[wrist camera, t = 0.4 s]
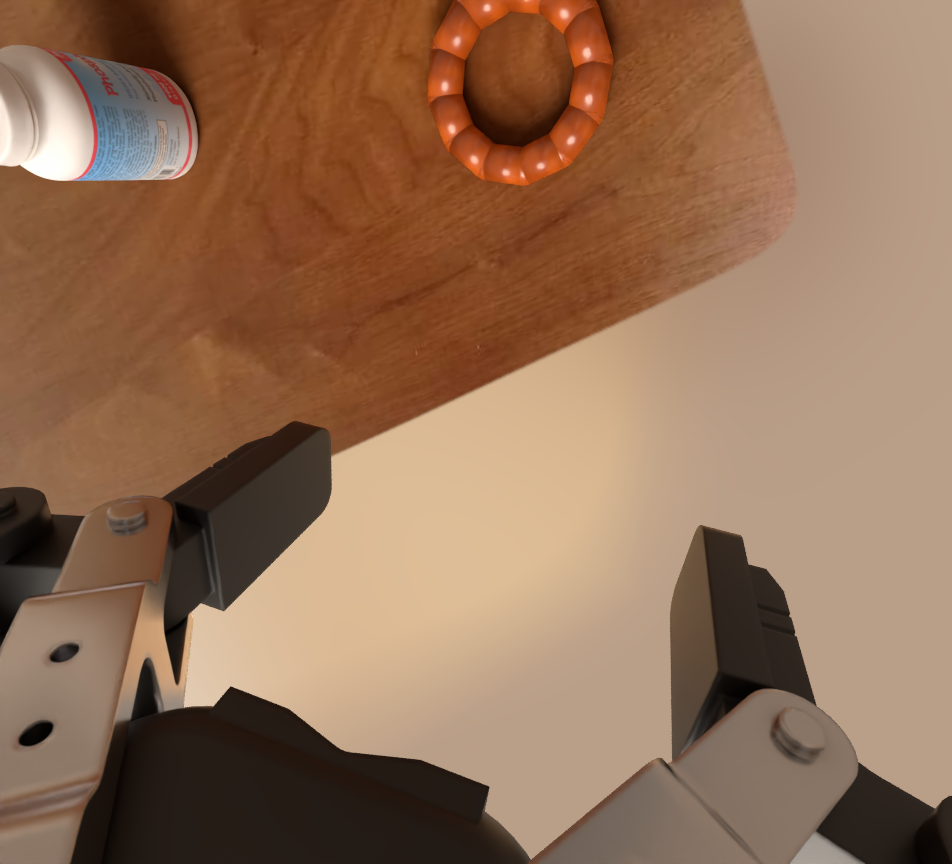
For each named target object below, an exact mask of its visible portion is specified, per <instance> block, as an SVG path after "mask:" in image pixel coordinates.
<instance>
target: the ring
mask: <svg viewBox="0 0 952 864" xmlns="http://www.w3.org/2000/svg"><path fill="white" fill-rule="evenodd" d="M510 12H515V13H532V14H541V15H542V16H543V17H544V18H545V19H547V20H548V21H549V22H550V23H551V24H552V25H553V26H555V27H556V28H557V29H558V30H559V31H560V32H561V33H563V34H564V36H565V40H566V43H567V46H568V49H569V53H570V56H571V59H572V62H573V65H574V74H573V80H572V87H571V93H570V99H569V105H568V106H567V108H566V109H565V111H564V112H563V114H562V115H561V117H560V118H559V120H558V121H557V123H556V124H555V126H554V127H553V128H552V130H551V131H550V133H549V134H547V135H545V136H543V137H541V138H539V139H537V140H535V141H533V142H531V143H529V144H527V145H525V146H523V147H518V146H510V145H501V144H495V143H494V142H493V141H491V140H490V139H489V138H488V137H487V136H486V135H484V134H483V133H482V132H481V131H480V130H479V129H477V128H476V127H475V126H474V125H473V122H472V119H471V117H470V114H469V111H468V109H467V106H466V103H465V100H464V98H463V84H464V72H465V60H466V58H467V57H468V55H469V53H470V51H471V50H472V48H473V46H474V44H475V42H476V41H477V39H478V37H479V35H480V33H481V32H482V30H483V29H484V28H486V27H488V26H489V25H491V24H492V23H494V22H495V21H497V20H499V19H500V18H502V17H503V16H505V15H507V14H508V13H510ZM613 65H614V57H613V53H612V49H611V46H610V42H609V39H608V36H607V32H606V29H605V25H604V22H603V18H602V15H601V11H600V8H599V5H598V3H597V1H596V0H453V2H452V4H451V6H450V8H449V10H448V12H447V14H446V16H445V18H444V20H443V22H442V24H441V26H440V28H439V29H438V31H437V33H436V35H435V37H434V39H433V41H432V44H431V48H430V64H429V82H428V104H429V107H430V109H431V112H432V114H433V117H434V119H435V122H436V125H437V127H438V130H439V132H440V135H441V138H442V140H443V143H444V145H445V147H446V149H447V150H448V151H449V152H450V153H451V154H452V155H453V156H454V157H455V158H457V159H458V160H459V161H460V162H461V163H462V164H464V165H465V166H466V167H467V168H468V169H469V170H471V171H472V172H473V173H474V174H475V175H476V176H478V177H479V178H480V179H482V180H486V181H492V182H500V183H507V184H515V185H524V186H525V185H529V184H532V183H534V182H536V181H538V180H540V179H542V178H544V177H547V176H549V175H551V174H553V173H555V172H557V171H559V170H561V169H563V168H565V167H567V166H569V165H570V164H571V163H572V162H573V161H574V160H575V158H576V157H577V156H578V154H579V153H580V151H581V150H582V149H583V147H584V146H585V145H586V143H587V142H588V140H589V139H590V138H591V136H592V135H593V134H594V132H595V131H596V129H597V128H598V127H599V125H600V124H601V122H602V120H603V118H604V114H605V109H606V103H607V98H608V92H609V87H610V82H611V76H612V71H613Z"/></svg>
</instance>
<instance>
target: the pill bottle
mask: <svg viewBox="0 0 952 864" xmlns="http://www.w3.org/2000/svg"><path fill="white" fill-rule="evenodd" d="M197 150H198V132H197V124H196V120H195V116H194V113H193V110H192V107H191V105H190V103H189V101H188V99H187V97H186V96H185V94H184V93H183V91H182V90H181V89H180V88H179V87H178V85H177V84H176V83H175V82H173V81H172V80H171V79H170V78H169V77H167V76H166V75H164V74H162V73H160V72H158V71H155V70H151V69H147V68H142V67H137V66H132V65H127V64H122V63H117V62H113V61H107V60H102V59H96V58H92V57H86V56H81V55H76V54H71V53H66V52H60V51H55V50H50V49H45V48H39V47H34V46H27V45H11V46H7V47H4V48H2V49H0V165H5V166H17V165H21V166H22V167H24V168H25V169H27V170H28V171H30V172H32V173H34V174H36V175H38V176H40V177H43V178H46V179H51V180H61V181H81V180H165V179H175V178H178V177H180V176H182V175H184V174H185V173H186V172H187V171H188V170H189V169H190V168H191V167H192V165H193V163H194V161H195V159H196V155H197Z"/></svg>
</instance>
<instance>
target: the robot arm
mask: <svg viewBox="0 0 952 864" xmlns="http://www.w3.org/2000/svg"><path fill="white" fill-rule="evenodd" d="M331 481H332V480H331V438H330V434H329V432H328V430H327V429H325V428H321V427H317V426H313V425H309V424H305V423H301V422H297V421H294V422H291V423H289V424H288V425H286V426H285V427H283V428H282V429H280V430H279V431H278V432H276V433H275V434H273V435H272V436H270V437H269V436H267V437H264V438H261V439H258V440H255V441H252V442H249V443H246V444H244V445H243V446H241V447H240V448H238V449H237V450H235V451H233V452H232V453H230V454H229V455H228V457H227V458H225V457H224V458H223V459H221V460H220V461H218V462H217V463H215V464H213V467H209V468H207V469H206V470H204V471H203V472H201V473H200V474H198V475H197V476H195V477H193V478H192V479H190V480H189V481H187V482H186V483H184V484H183V485H181V486H180V487H178V488H177V489H175V490H173V491H172V492H170V493H169V494H167V495H166V496H164V497H163V498H158V497H154V496H131V497H125V498H120V499H117V500H113V501H111V502H108V503H105V504H103V505H101V506H99V507H97V508H96V509H94V510H93V511H91V512H90V513H89V514H88V515H87V516H72V515H54V514H51V513H50V510H49V507H48V504H47V500H46V497H45V495H44V494H43V493H42V492H41V491H39V490H36V489H33V488H27V487H10V488H2V489H0V864H952V796H949V797H947V798H945V799H944V800H942V802H941V803H940V804H939V805H938V806H937V807H936V808H935V809H934V808H933V807H931V806H929V805H927V804H925V803H924V802H922V801H920V800H919V799H917V798H915V797H913V796H912V795H910V794H908V793H906V792H905V791H903V790H901V789H900V788H898V787H896V786H894V785H892V784H891V783H889V782H888V781H886V780H884V779H882V778H881V777H879V776H877V775H876V774H874V773H873V772H871V771H870V770H868V769H867V768H866V767H864V766H863V765H862V764H860V763H859V762H858V759H857V756H856V752H855V750H854V748H853V746H852V744H851V742H850V740H849V739H848V737H847V736H846V734H845V733H844V731H843V730H842V729H841V728H840V726H838V724H837V723H836V722H835V721H834V720H833V719H832V718H831V717H830V716H828V715H827V714H826V713H825V712H824V711H823V710H821V709H820V708H818V707H817V706H816V702H815V699H814V695H813V693H812V689H811V685H810V682H809V678H808V675H807V671H806V668H805V665H804V661H803V657H802V654H801V650H800V647H799V643H798V640H797V637H796V636H795V630H794V626H793V622H792V619H791V617H789V615H790V612H789V608H788V605H787V601H786V598H785V594H784V591H783V590H782V589H781V587H780V586H779V585H778V583H777V582H776V581H775V580H774V578H773V577H772V576H771V575H770V573H769V572H768V571H767V570H766V569H764V568H760V567H756V566H752V565H749V564H748V562H747V556H746V552H745V547H744V543H743V538H742V537H741V535H737V534H734V533H730V532H726V531H722V530H718V529H714V528H710V527H706V526H702V525H700V526H699V527H698V528H697V530H696V532H695V534H694V537H693V539H692V542H691V545H690V548H689V551H688V553H687V556H686V559H685V562H684V564H683V567H682V570H681V572H680V575H679V578H678V581H677V584H676V586H675V590H674V594H673V598H672V604H671V611H670V633H671V634H670V637H671V638H670V639H671V706H672V707H671V708H672V762H671V763H668V764H667V763H666V762H665V761H664V760H663V759H662V758H657V759H654V760H652V761H651V762H650V763H648V764H646V765H645V766H644V767H642V768H641V769H640V770H639V771H638V772H636V773H635V774H634V775H633V776H632V777H630V778H629V779H628V780H627V781H626V782H624V783H623V784H622V785H621V786H620V787H618V788H617V789H616V790H615V791H613V792H612V793H611V794H610V795H609V796H607V797H606V798H605V799H604V800H603V801H602V802H600V803H599V804H598V805H597V806H595V807H594V808H593V809H592V810H591V811H589V812H588V813H587V814H586V815H585V816H583V817H582V818H581V819H580V820H579V821H577V822H576V823H575V824H574V825H572V826H571V827H570V828H569V829H568V830H567V831H565V832H564V833H563V834H562V835H561V836H559V837H558V838H557V839H556V840H554V841H553V842H552V843H551V844H550V845H549V846H547V847H546V848H545V849H544V850H542V851H541V852H540V853H539V854H537V855H536V856H535V857H534V858H533V859H532V860H531V859H530V858H529V856H528V855H527V853H526V852H525V851H524V849H523V848H522V847H521V846H520V844H519V843H518V842H517V841H516V840H515V838H514V837H513V836H512V835H511V834H510V833H509V832H508V831H507V830H506V829H505V828H504V827H503V826H502V825H501V824H500V823H499V822H498V821H496V820H495V819H494V818H493V817H491V816H490V815H489V814H487V813H486V812H485V806H486V802H487V797H488V792H489V786H486V785H483V784H481V783H479V782H476V781H473V780H471V779H468V778H465V777H463V776H460V775H458V774H455V773H453V772H450V771H447V770H445V769H442V768H440V767H437V766H435V765H432V764H430V763H427V762H424V761H422V760H416V759H407V758H398V757H388V756H379V755H369V754H360V753H350V752H346V751H343V750H341V749H339V748H338V747H336V746H335V745H334V744H332V743H331V742H330V741H328V740H327V739H326V738H325V737H324V736H322V735H321V734H320V733H318V732H317V731H316V730H315V729H313V728H312V727H311V726H310V725H308V724H307V723H306V722H305V721H303V720H302V719H301V718H299V717H298V716H297V715H296V714H294V713H293V712H292V711H291V710H289V709H287V708H285V707H282V706H280V705H277V704H274V703H272V702H269V701H267V700H264V699H262V698H259V697H257V696H254V695H252V694H249V693H246V692H244V691H241V690H238V689H236V688H233V687H230V688H229V689H228V690H227V691H226V692H225V694H224V695H223V696H222V697H221V698H220V700H219V701H218V702H217V703H216V704H215V705H214V707H212V706H195V707H185V708H184V696H185V687H186V679H187V671H188V662H189V653H190V645H191V636H192V628H193V618H192V611H193V610H194V609H195V608H196V607H197V606H198V605H199V604H200V603H202V604H205V605H208V606H210V607H213V608H216V609H219V610H222V611H225V610H226V609H227V608H228V606H230V605H231V604H232V602H234V601H235V600H236V598H238V596H240V595H241V594H242V593H243V592H244V591H245V590H246V589H247V588H248V587H249V586H250V585H251V584H252V583H253V582H254V581H255V580H256V579H257V577H259V576H260V575H261V574H262V573H263V572H264V571H265V570H266V569H267V568H268V567H269V566H270V565H271V564H272V563H273V562H274V561H275V560H276V558H278V557H279V556H280V554H281V553H282V552H284V550H286V549H287V548H288V547H289V546H290V545H291V544H292V543H293V542H294V540H296V539H297V538H298V537H299V536H300V535H301V534H302V533H303V532H304V531H305V530H306V529H307V528H308V527H309V525H311V524H312V523H313V522H314V521H315V520H316V519H317V518H318V517H319V516H320V515H321V514H322V512H323V511H324V510H325V508H326V506H327V504H328V502H329V499H330V495H331V489H332V488H331V486H332V483H331Z"/></svg>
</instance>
